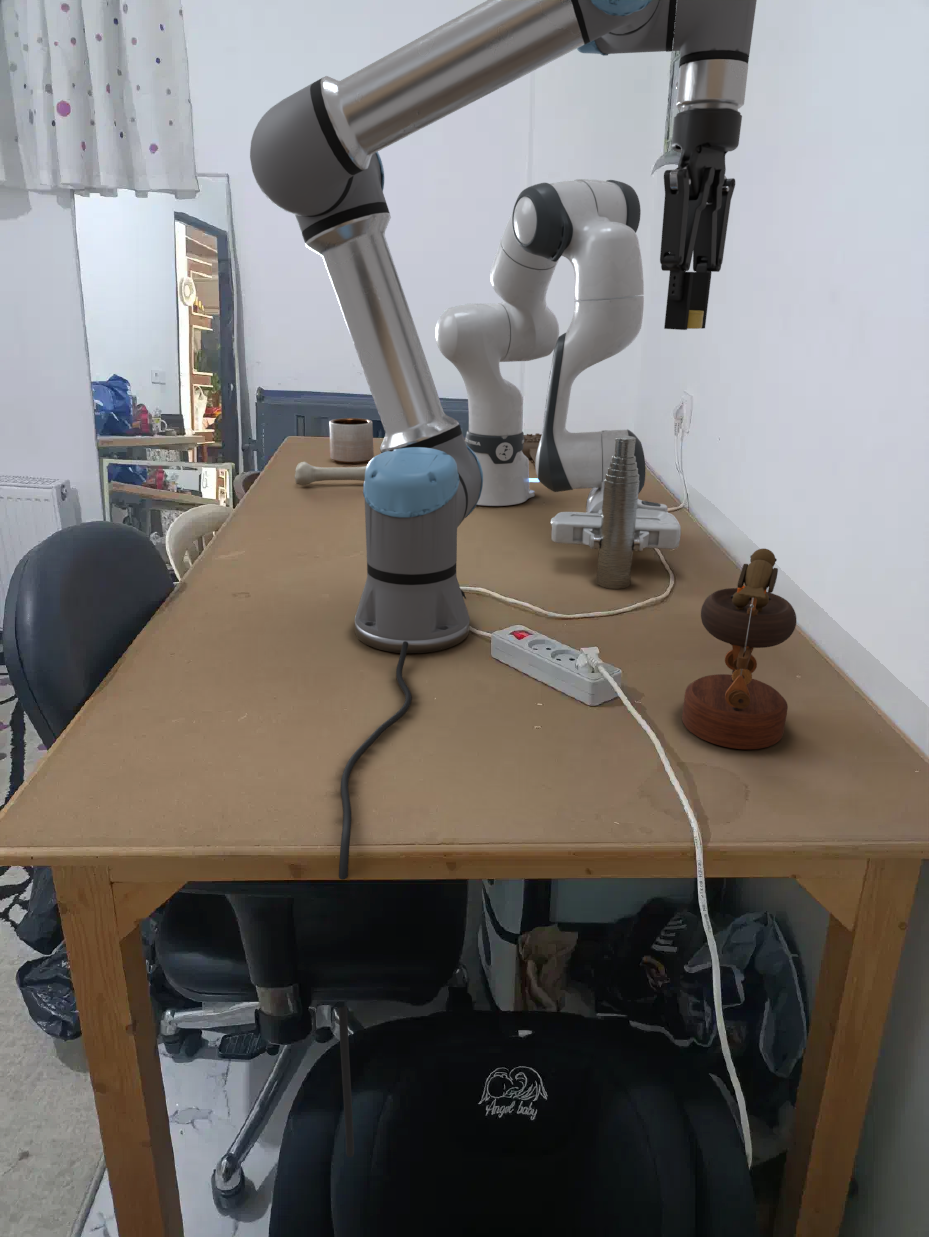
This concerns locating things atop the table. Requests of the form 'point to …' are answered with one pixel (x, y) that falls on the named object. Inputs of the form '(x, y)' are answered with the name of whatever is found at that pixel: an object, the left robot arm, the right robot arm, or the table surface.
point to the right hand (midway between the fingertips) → (617, 544)
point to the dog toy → (327, 473)
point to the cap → (695, 319)
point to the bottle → (618, 516)
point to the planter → (351, 440)
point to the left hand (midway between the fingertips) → (684, 328)
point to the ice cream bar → (531, 445)
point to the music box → (742, 662)
